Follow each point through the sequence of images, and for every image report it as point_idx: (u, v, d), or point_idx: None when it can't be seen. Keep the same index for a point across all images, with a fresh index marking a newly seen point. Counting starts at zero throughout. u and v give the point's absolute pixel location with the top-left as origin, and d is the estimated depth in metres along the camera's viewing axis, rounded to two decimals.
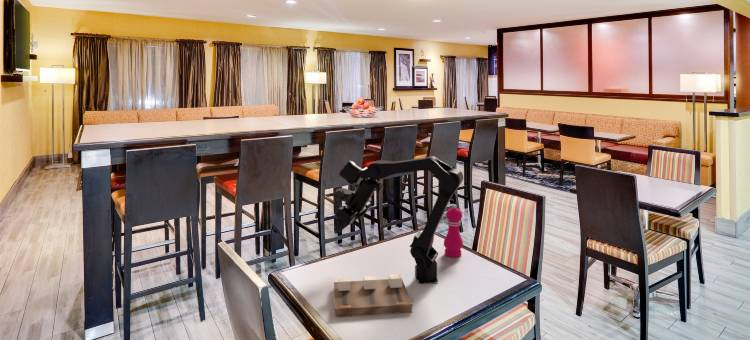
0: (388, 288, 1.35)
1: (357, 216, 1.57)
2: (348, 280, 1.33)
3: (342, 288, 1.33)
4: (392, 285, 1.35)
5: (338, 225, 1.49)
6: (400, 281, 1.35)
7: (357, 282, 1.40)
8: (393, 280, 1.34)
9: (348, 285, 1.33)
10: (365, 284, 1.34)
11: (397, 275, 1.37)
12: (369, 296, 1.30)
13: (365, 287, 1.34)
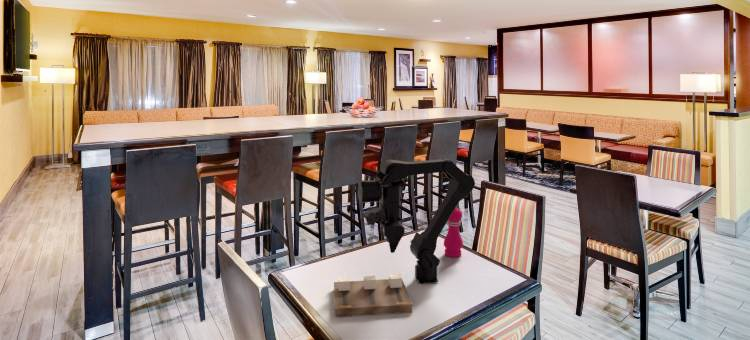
0: (388, 288, 1.35)
1: None
2: (348, 280, 1.33)
3: (342, 288, 1.33)
4: (392, 285, 1.35)
5: (391, 245, 1.35)
6: (400, 281, 1.35)
7: (357, 282, 1.40)
8: (393, 280, 1.34)
9: (348, 285, 1.33)
10: (365, 284, 1.34)
11: (397, 275, 1.37)
12: (369, 296, 1.30)
13: (365, 287, 1.34)
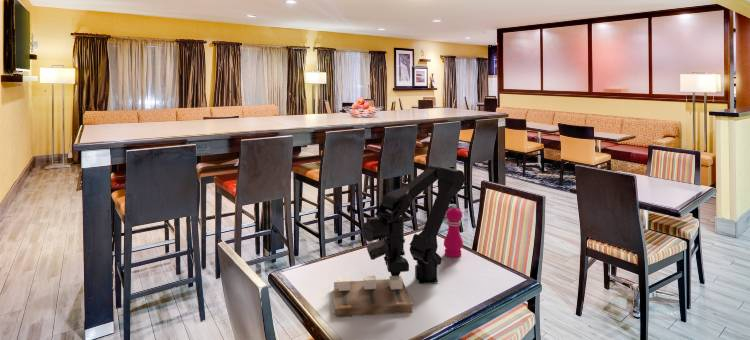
0: (388, 288, 1.35)
1: None
2: (348, 280, 1.33)
3: (342, 288, 1.33)
4: (393, 287, 1.34)
5: (393, 274, 1.37)
6: (401, 282, 1.34)
7: (357, 282, 1.40)
8: (393, 281, 1.33)
9: (348, 285, 1.33)
10: (365, 284, 1.34)
11: (398, 276, 1.36)
12: (369, 296, 1.30)
13: (365, 287, 1.34)
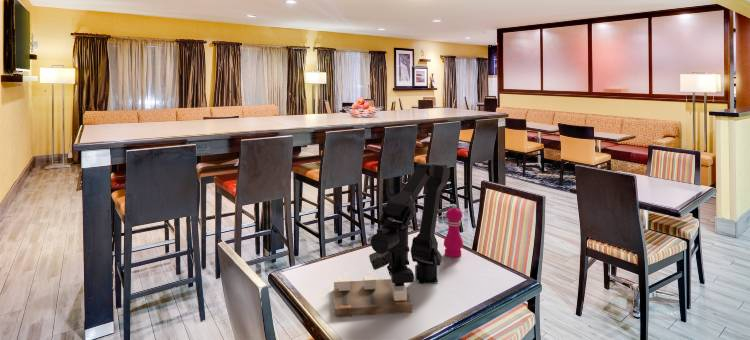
0: (388, 288, 1.35)
1: None
2: (348, 280, 1.33)
3: (342, 288, 1.33)
4: (396, 298, 1.27)
5: (396, 284, 1.30)
6: (405, 293, 1.27)
7: (357, 282, 1.40)
8: (397, 292, 1.26)
9: (348, 285, 1.33)
10: (365, 284, 1.34)
11: (401, 287, 1.29)
12: (369, 296, 1.30)
13: (365, 287, 1.34)
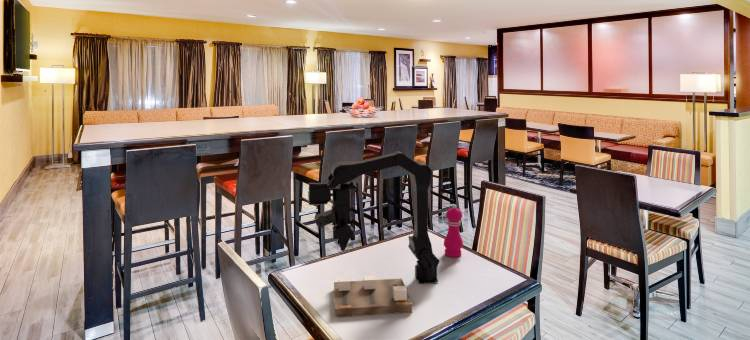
0: (388, 288, 1.35)
1: None
2: (348, 280, 1.33)
3: (342, 288, 1.33)
4: (396, 298, 1.27)
5: (341, 243, 1.37)
6: (405, 293, 1.27)
7: (357, 282, 1.40)
8: (397, 292, 1.27)
9: (348, 285, 1.33)
10: (365, 284, 1.34)
11: (401, 287, 1.29)
12: (369, 296, 1.30)
13: (365, 287, 1.34)
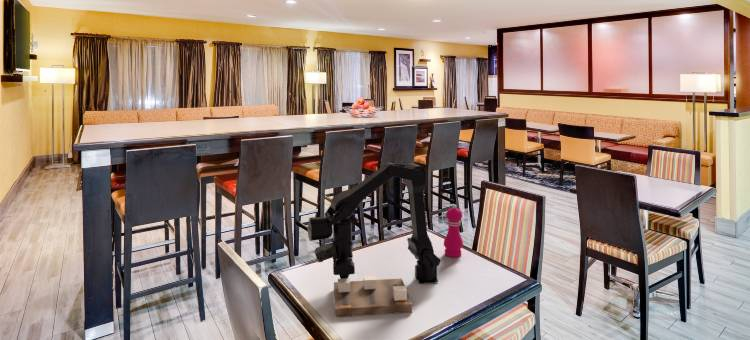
0: (388, 288, 1.35)
1: None
2: (348, 281, 1.32)
3: (342, 289, 1.32)
4: (396, 298, 1.27)
5: (341, 277, 1.35)
6: (405, 293, 1.27)
7: (357, 282, 1.40)
8: (397, 292, 1.27)
9: (348, 286, 1.32)
10: (365, 284, 1.34)
11: (401, 287, 1.29)
12: (369, 296, 1.30)
13: (365, 287, 1.34)
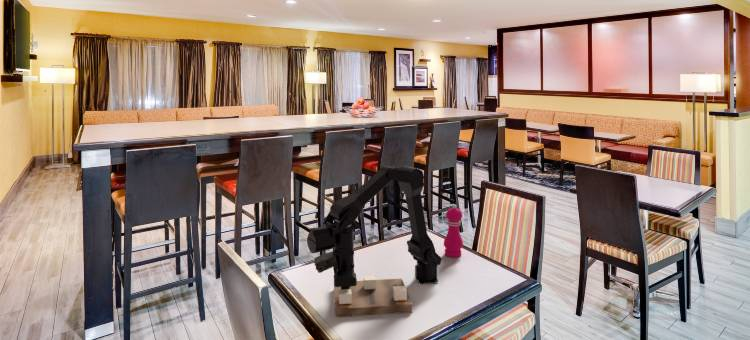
0: (388, 288, 1.35)
1: None
2: (350, 293, 1.25)
3: (343, 301, 1.25)
4: (396, 298, 1.27)
5: (342, 287, 1.28)
6: (405, 293, 1.27)
7: (357, 282, 1.40)
8: (397, 292, 1.27)
9: (350, 298, 1.25)
10: (365, 284, 1.34)
11: (401, 287, 1.29)
12: (369, 296, 1.30)
13: (365, 287, 1.34)
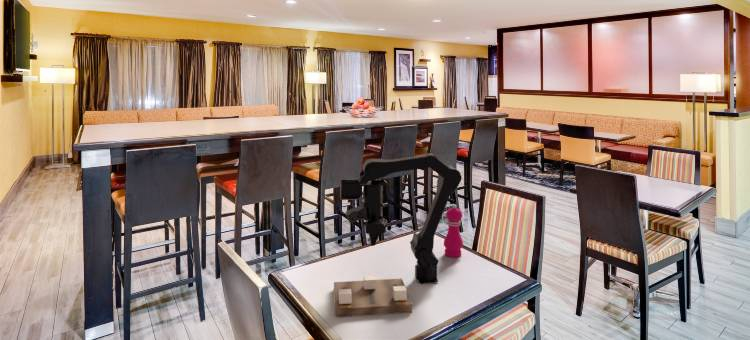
0: (388, 288, 1.35)
1: None
2: (350, 292, 1.25)
3: (343, 301, 1.25)
4: (396, 298, 1.27)
5: (371, 238, 1.41)
6: (405, 293, 1.27)
7: (357, 282, 1.40)
8: (397, 292, 1.27)
9: (350, 298, 1.25)
10: (365, 284, 1.34)
11: (401, 287, 1.29)
12: (369, 296, 1.30)
13: (365, 287, 1.34)
